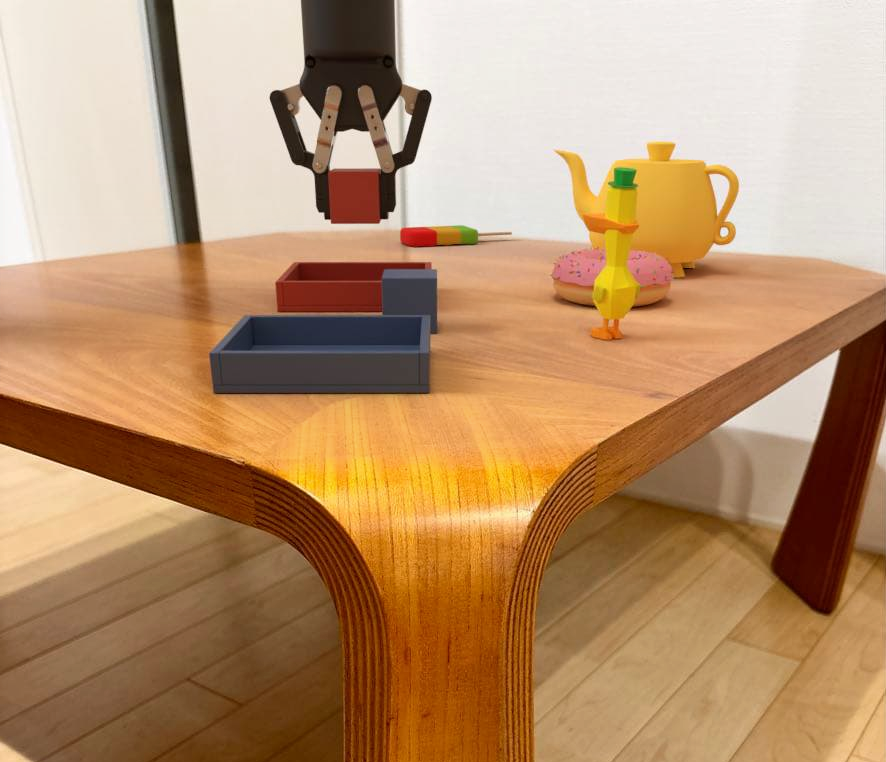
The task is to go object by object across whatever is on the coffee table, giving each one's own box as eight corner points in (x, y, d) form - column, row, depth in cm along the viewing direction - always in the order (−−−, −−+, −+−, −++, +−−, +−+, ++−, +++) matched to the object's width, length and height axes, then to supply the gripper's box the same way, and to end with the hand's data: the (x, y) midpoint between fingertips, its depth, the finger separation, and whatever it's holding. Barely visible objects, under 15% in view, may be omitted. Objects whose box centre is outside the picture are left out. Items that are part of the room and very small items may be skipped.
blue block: (382, 333, 71) (381, 277, 69) (385, 322, 74) (384, 269, 73) (437, 333, 71) (437, 277, 69) (437, 322, 74) (437, 269, 73)
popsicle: (397, 242, 120) (397, 227, 119) (502, 237, 124) (503, 223, 123) (410, 247, 115) (410, 232, 114) (519, 242, 120) (519, 227, 119)
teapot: (720, 284, 90) (738, 144, 85) (529, 271, 98) (534, 142, 92) (739, 265, 102) (755, 140, 96) (566, 255, 109) (573, 138, 104)
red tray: (277, 311, 78) (275, 281, 77) (295, 288, 88) (293, 261, 87) (431, 311, 78) (431, 281, 77) (431, 288, 88) (431, 261, 87)
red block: (330, 223, 78) (328, 171, 77) (335, 218, 82) (333, 168, 80) (379, 223, 78) (377, 171, 77) (382, 218, 82) (380, 168, 80)
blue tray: (213, 393, 56) (208, 352, 55) (247, 349, 66) (244, 314, 65) (429, 393, 56) (429, 352, 55) (430, 349, 66) (430, 314, 65)
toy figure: (561, 329, 72) (570, 165, 67) (598, 325, 73) (610, 164, 68) (612, 347, 66) (626, 170, 61) (651, 342, 68) (668, 168, 63)
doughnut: (566, 285, 90) (568, 241, 88) (679, 292, 86) (684, 247, 85) (536, 305, 81) (538, 256, 79) (661, 314, 77) (666, 263, 75)
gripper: (436, -2, 76) (437, 214, 84) (266, -2, 76) (282, 214, 84) (436, -13, 70) (437, 223, 77) (250, -13, 70) (268, 223, 77)
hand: (356, 217), depth 80 cm, fingers closed on red block, 4 cm apart
